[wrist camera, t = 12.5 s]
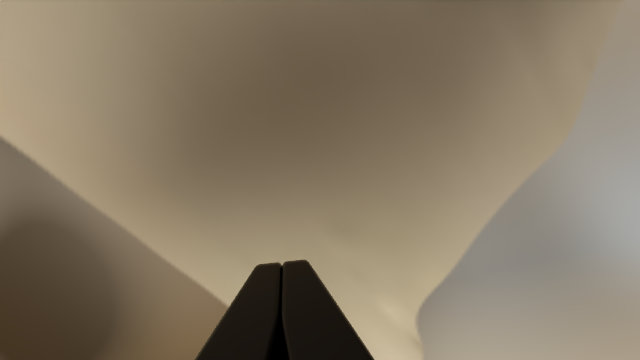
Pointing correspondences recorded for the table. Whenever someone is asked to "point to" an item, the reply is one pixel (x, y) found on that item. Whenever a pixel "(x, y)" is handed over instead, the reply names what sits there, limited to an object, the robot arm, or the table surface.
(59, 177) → the table surface
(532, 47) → the table surface
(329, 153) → the table surface
